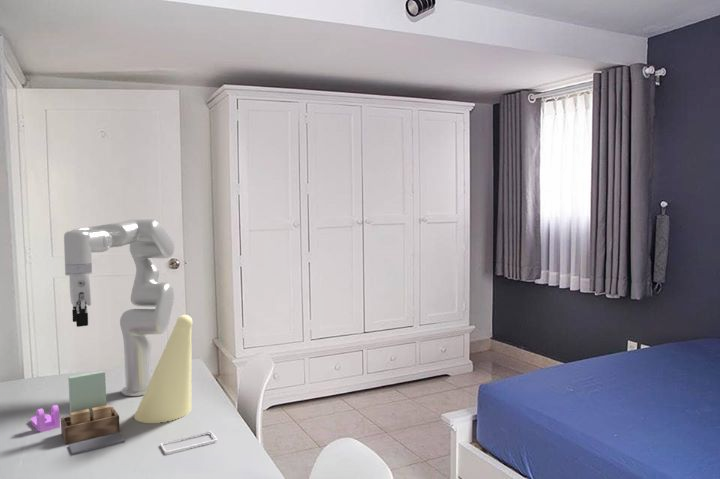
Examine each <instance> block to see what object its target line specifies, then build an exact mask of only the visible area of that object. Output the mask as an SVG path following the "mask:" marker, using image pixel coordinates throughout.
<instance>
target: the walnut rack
mask: <svg viewBox="0 0 720 479" xmlns="http://www.w3.org/2000/svg"><path fill="white" fill-rule="evenodd" d="M120 426H121V425H120V415H119V414H118V412H117V411H116V409H115V408H114V407H113V406H111V417H107V418H103V419H98V420H94V421H92V416H90V421H89V422H85V423H80V424H76V425H71V420H70V415H69V416H63V417H60V431H61V432H60V433H61V435H62V438H63V441H64V444H65V445H69V444H73V443H77V442H81V441H86V440H90V439H94V438H98V437H102V436H106V435H111V434H115V433H119V432H121V429H120V428H121V427H120Z"/></svg>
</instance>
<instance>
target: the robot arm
mask: <svg viewBox="0 0 720 479" xmlns="http://www.w3.org/2000/svg"><path fill="white" fill-rule="evenodd" d="M126 245H129V253H130V255H131V257H132V258H133V263H134V265H135V269H136V270H135V276H134V281H133V285H132V289H131V292H130V293H131V294H130V301H131V303H132V305H133V306H136V307H139V308H131V309H127V310H125V311H124V312H123V313H122V314H121V316H120V319H119V325H120V330H121V332H122V333H121V334H122V339H123V347H124V348H123V350H124V351H123V352H124V373H125V374H124V377H125V386H124V387H123V388H122V389H121V391H120V392H121V395H122V396H126V397H139V396H144V394H145V391H146V389H147V387H148V385H149V382H150V380H151V378H152V376H153V362H152V361H153V360H152V344H151V340H150V338H149V337H148V336H147V335H162V334H165V332H166V331H167V330H168V327H169V324H170V321H171V320H170V319H171V315H172V309H173V305H174V300H175V290H174V287H173V286H172V285H171V284H170V283H168V282H163V281H161V282H160V281H159V276H160V270H159V268H158V266H157V265H156V263H155V262H154V261H153V259H168V258H170V257H172V256H173V255H174V252H175V244H174V241H173V238H171V236H170V235H169V233H168V232H167V230H166V229H165V227H164V226H163V225H162V224H161V223H160V222H158V221H157V220H155V219H128V220H123V221H118V222H116V223H115V222H114V223H113V222H112V223H107V224H106V223H105V224H101V225H95V226H94V225H93V226H86V227H80V228H75V229H71V230H69V231H66V232H64V235H63V247H64V252H63V253H64V273H65V274H64V276H69V295H70V303H71V305H72V312H71V313H72V322H74V323H76V327H77V328H78V327H79V328H80V327H87V326H89V313H88V306H91V305H92V296H91V295H92V294H91V284H90V283H91V282H90V281H91V280H90V275H92V274H93V267H92V265H93V264H92V253H103V252H106V251H108V250H109V249H110V248H119V247H124V246H126ZM140 307H141V308H140ZM143 307H144V308H143ZM145 307H146V308H145ZM147 307H148V308H147ZM154 307H155V308H154Z"/></svg>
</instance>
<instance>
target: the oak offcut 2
mask: <svg viewBox="0 0 720 479" xmlns="http://www.w3.org/2000/svg"><path fill="white" fill-rule="evenodd" d="M111 407H112V406H111V405H110V404H106V405H104V406H100V407H95V408H92V421H94V420H98V419H103V418H107V417H111Z"/></svg>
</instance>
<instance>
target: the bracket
mask: <svg viewBox="0 0 720 479" xmlns="http://www.w3.org/2000/svg"><path fill="white" fill-rule="evenodd" d="M35 414H36V415H35V416H32V417H31V418H30V424H31V425H32V426H33V427H34V428H35V429H36V431H38V432H40V433H43V432H47V431H51V430H55V429H58V428H61V417H60V408H59V405H58V404H54V405H51V407H50V414H48V413H45V411H44V408H38V409H36V410H35Z"/></svg>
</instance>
